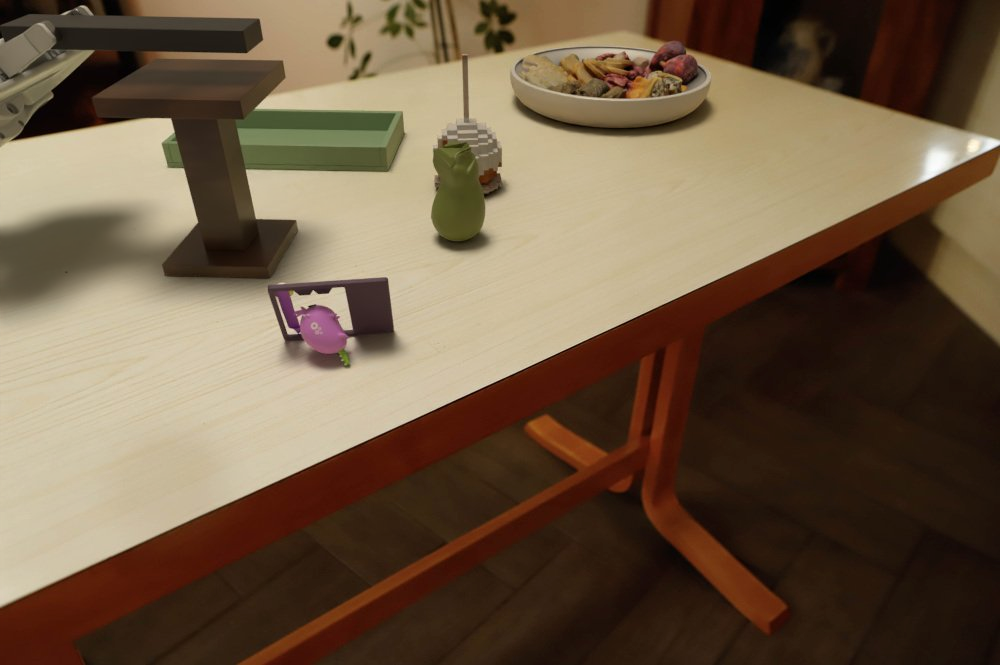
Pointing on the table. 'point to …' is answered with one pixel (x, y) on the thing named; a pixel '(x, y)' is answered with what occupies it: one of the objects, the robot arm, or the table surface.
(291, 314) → the pop-out character card
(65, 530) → the table surface
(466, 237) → the green rounded figure
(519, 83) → the bowl
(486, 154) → the decorative ornament
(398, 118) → the green tray
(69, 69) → the robot arm
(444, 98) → the table surface
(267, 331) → the table surface
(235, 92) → the walnut stand
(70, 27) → the black rectangular bar
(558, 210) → the table surface
